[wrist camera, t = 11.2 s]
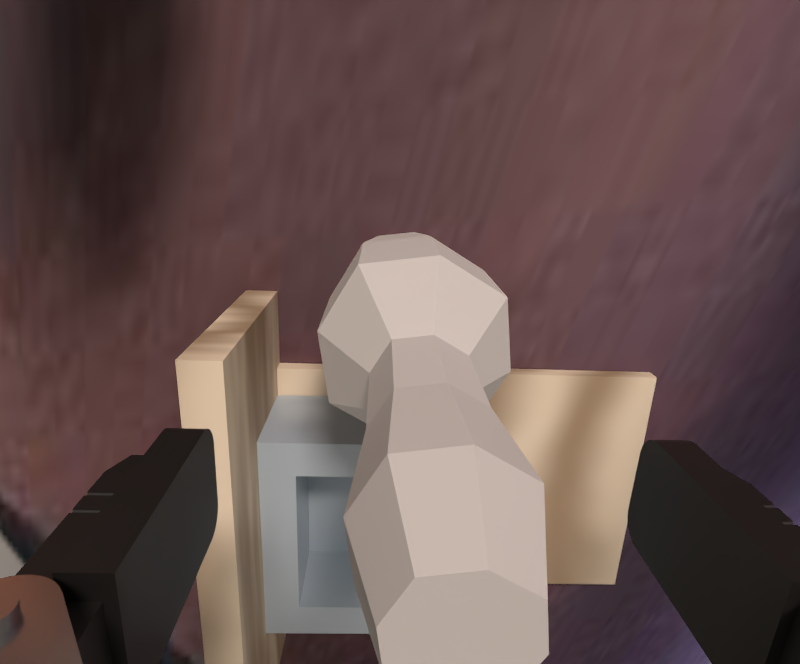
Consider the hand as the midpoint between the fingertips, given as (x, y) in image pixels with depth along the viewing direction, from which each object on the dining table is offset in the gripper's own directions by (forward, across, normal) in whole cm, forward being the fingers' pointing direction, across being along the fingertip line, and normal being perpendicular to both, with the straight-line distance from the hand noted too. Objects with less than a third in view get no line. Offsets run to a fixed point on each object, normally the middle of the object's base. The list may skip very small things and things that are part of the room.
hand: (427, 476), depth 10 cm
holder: (+18, 0, +12) cm, 22 cm away
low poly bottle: (+19, 0, 0) cm, 19 cm away
